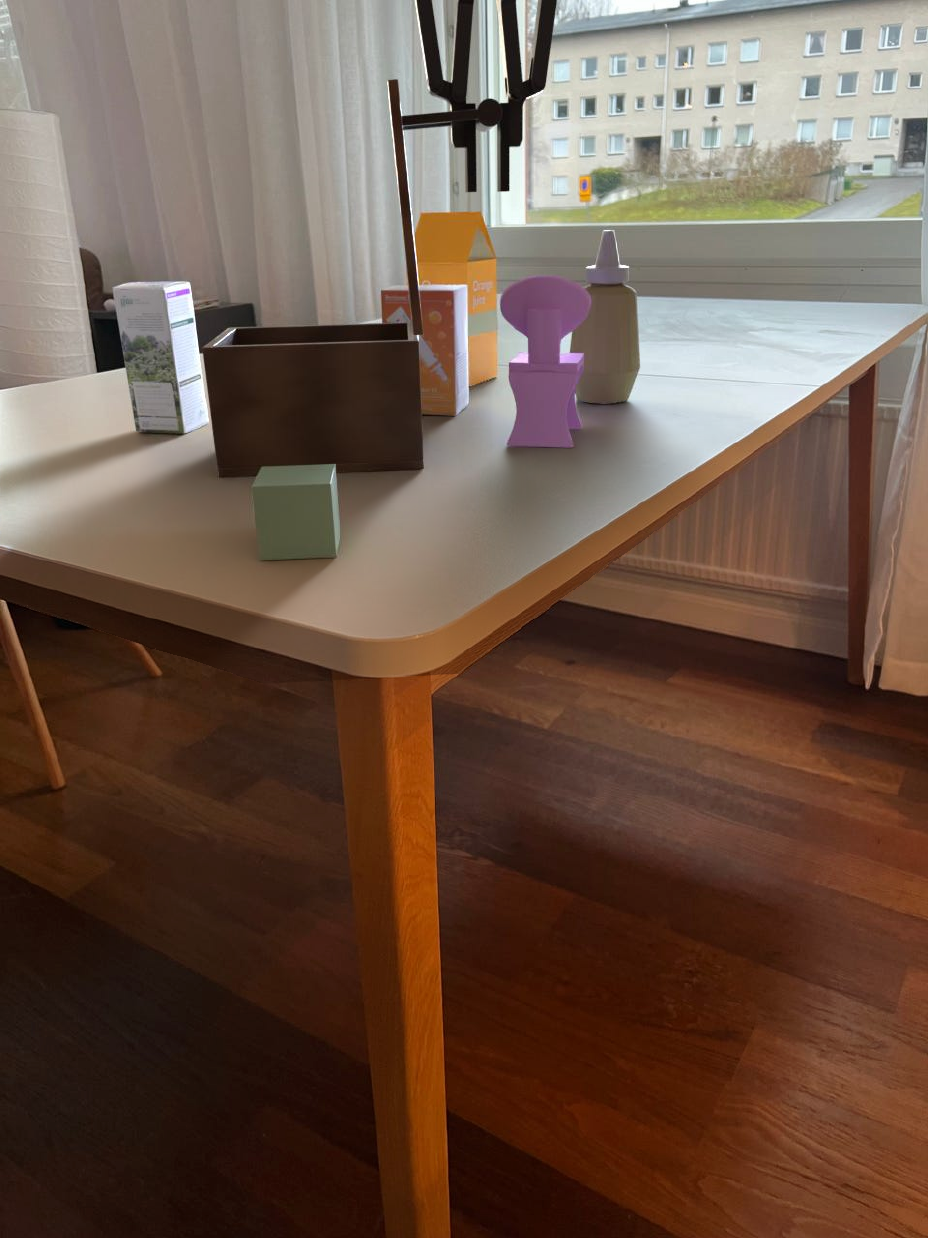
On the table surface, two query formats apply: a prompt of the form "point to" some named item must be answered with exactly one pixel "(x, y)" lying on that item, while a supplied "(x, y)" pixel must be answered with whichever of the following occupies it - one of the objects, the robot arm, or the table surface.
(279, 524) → the block
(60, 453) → the table surface
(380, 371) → the chest
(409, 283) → the lid
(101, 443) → the table surface
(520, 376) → the toy chair
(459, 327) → the small box
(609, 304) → the squeeze bottle
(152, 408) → the syrup box
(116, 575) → the table surface
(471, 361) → the orange juice
